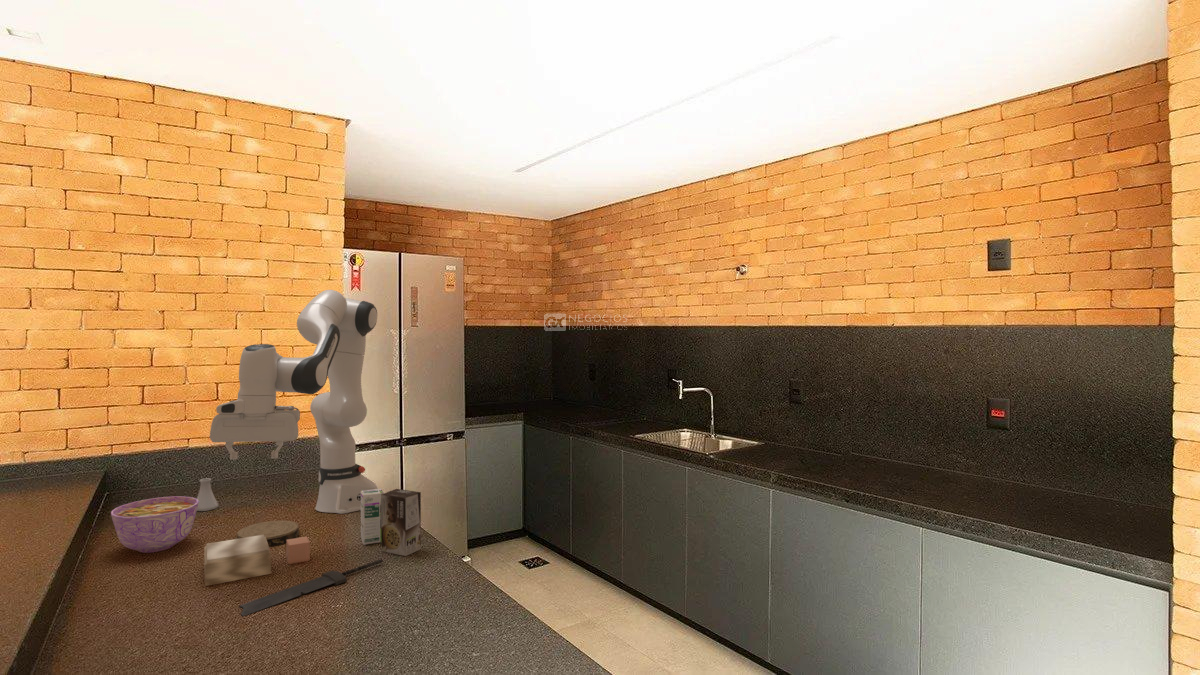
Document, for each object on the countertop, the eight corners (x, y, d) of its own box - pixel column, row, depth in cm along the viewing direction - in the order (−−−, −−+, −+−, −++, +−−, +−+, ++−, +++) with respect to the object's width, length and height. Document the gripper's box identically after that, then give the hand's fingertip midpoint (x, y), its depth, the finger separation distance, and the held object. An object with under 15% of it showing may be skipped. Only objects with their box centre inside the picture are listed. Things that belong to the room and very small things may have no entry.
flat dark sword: (230, 612, 137) (230, 603, 137) (374, 561, 164) (374, 553, 164) (244, 621, 132) (243, 612, 132) (390, 567, 159) (389, 559, 159)
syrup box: (362, 545, 175) (362, 494, 175) (360, 539, 180) (360, 489, 180) (384, 542, 178) (384, 492, 177) (381, 536, 183) (381, 487, 183)
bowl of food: (208, 547, 173) (207, 506, 172) (118, 567, 158) (118, 522, 158) (188, 530, 186) (188, 492, 186) (104, 547, 172) (104, 506, 171)
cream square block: (265, 555, 167) (265, 533, 167) (271, 573, 155) (271, 549, 155) (204, 566, 159) (204, 543, 159) (204, 586, 147) (204, 561, 147)
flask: (205, 512, 204) (205, 482, 204) (187, 511, 205) (187, 481, 205) (223, 506, 211) (223, 477, 211) (205, 505, 212) (205, 476, 212)
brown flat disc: (301, 542, 178) (301, 532, 178) (237, 552, 169) (237, 542, 169) (296, 527, 191) (296, 517, 191) (236, 535, 183) (236, 525, 183)
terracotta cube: (306, 554, 168) (306, 536, 168) (309, 560, 164) (309, 541, 164) (286, 558, 165) (286, 539, 165) (288, 564, 161) (288, 545, 161)
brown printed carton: (421, 549, 173) (422, 491, 172) (405, 556, 167) (405, 497, 167) (396, 544, 177) (397, 487, 176) (380, 551, 171) (380, 493, 170)
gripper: (301, 404, 168) (299, 455, 168) (216, 404, 162) (213, 457, 161) (298, 406, 162) (296, 459, 162) (209, 406, 156) (206, 461, 155)
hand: (254, 458), depth 161 cm, fingers open, 8 cm apart
